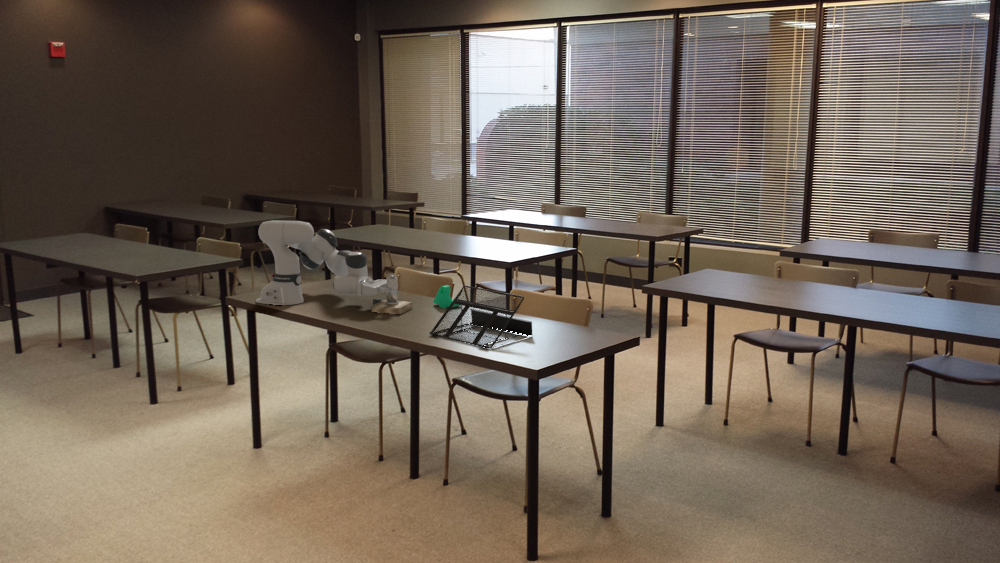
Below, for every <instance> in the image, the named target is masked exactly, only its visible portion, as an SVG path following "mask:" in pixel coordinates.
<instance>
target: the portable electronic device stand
mask: <svg viewBox="0 0 1000 563" xmlns="http://www.w3.org/2000/svg"><path fill="white" fill-rule="evenodd" d="M469 289H471V290H469ZM467 290H469V291H467ZM465 292H467V293H465ZM464 298H466V299H464ZM524 299H525V297H524V296H523V295H519V294H513V293H507V292H501V291H497V290H491V289H485V288H480V287H475V286H469V285H464V286H462V288H461V289H460V290H459V291H458V293H457V294H456V296H455V298H454V299H453V301H452V303H451V304H450V306H449V307H448V308H446V310H444V312H443V314H442V315H441V316H440V318H439V320H438V321H437V322H436V324H435V325H434V327H433V328H432V329H431V331H429V332H428V333H429V335H431V336H433V335H434V336H433V337H436V336H438V337H437V338H443V339H448V340H451V341H455V340H456V341H457V342H459V341H461V342H460V343H464V342H466V343H465V344H468V343H470V344H469V345H472V344H474V345H473V346H476V345H478V346H477V347H480V346H482V347H485V348H491V349H493V348H494V346H495V344H496V341H498V340H501V339H502V338H500V337H501V335H502V334H503V333H504V332H503V331H506V330H508V331H507V332H510V331H513V332H512V333H515V332H517V334H519V333H522V335H523V334H526V335H527V336H528V335H532V336H533V321H531V320H525V319H522V318H515V317H514V316H515V314H516V313H517V311H518V310H519V308H520V307H521V305H522V303H523V301H525V300H524ZM454 304H457V306H455V307H452V306H453V305H454ZM458 305H461V306H458ZM469 324H470V325H469ZM471 324H473V325H471ZM464 325H466V326H464ZM475 325H477V326H480V327H477V326H475ZM460 326H461V327H460ZM481 326H483V327H481ZM442 327H444V328H442ZM456 327H459V328H456ZM474 327H475V328H474ZM476 327H477V328H476ZM492 327H493V329H492ZM455 328H456V329H455ZM471 328H473V329H471ZM488 328H489V329H488ZM497 328H498V330H501V329H502V330H501V332H500V331H498V330H496V329H497ZM466 329H468V330H466ZM469 329H470V330H469ZM446 330H448V331H446ZM463 330H464V331H463ZM465 330H466V331H465ZM441 331H444V332H441ZM468 331H469V332H468ZM437 332H438V333H437ZM439 332H440V333H439ZM455 332H457V333H455ZM458 332H459V333H458ZM471 332H473V333H471ZM494 332H495V333H494ZM453 333H455V334H453ZM475 333H477V334H475ZM497 333H498V334H497ZM483 335H485V336H483ZM487 336H490V337H487ZM512 336H514V334H512ZM491 337H495V338H494V339H493V338H491ZM498 338H499V339H498ZM504 338H505V339H506V338H508V339H509V336H507V333H505V336H504ZM524 338H526V337H524ZM481 340H487V341H489V342H487V341H481ZM491 342H493V344H490V345H488V343H491ZM503 344H504V343H503ZM503 344H501V345H503ZM484 345H487V346H484ZM482 347H481V348H482ZM485 348H484V349H485Z"/></svg>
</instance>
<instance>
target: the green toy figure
mask: <svg viewBox="0 0 1000 563" xmlns="http://www.w3.org/2000/svg"><path fill="white" fill-rule="evenodd" d="M450 293H451V287H450V285H448V284H446V285H441V286H440V287H439V288H438V291H437V293H436V295H435V297H434V299H433V304H435V305H438V306H439V307H440V308H443V309H447V308H448V307H449V306H450V304H451V303H452V301H453V300H454V299H452V297H451V294H450ZM455 306H456V307H457V304H454V305H453V306H452V308H455ZM458 307H461V305H458Z"/></svg>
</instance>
